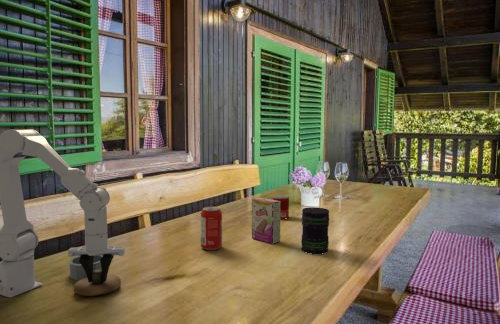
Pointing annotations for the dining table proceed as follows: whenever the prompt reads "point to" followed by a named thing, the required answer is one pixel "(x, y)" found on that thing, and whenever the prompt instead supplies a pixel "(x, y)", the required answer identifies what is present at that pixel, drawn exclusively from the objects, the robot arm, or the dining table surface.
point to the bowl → (78, 271)
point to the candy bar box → (266, 220)
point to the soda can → (211, 228)
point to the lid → (97, 284)
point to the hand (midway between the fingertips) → (97, 280)
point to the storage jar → (315, 230)
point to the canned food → (283, 205)
